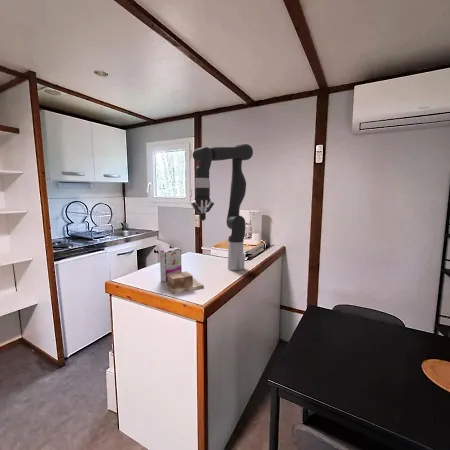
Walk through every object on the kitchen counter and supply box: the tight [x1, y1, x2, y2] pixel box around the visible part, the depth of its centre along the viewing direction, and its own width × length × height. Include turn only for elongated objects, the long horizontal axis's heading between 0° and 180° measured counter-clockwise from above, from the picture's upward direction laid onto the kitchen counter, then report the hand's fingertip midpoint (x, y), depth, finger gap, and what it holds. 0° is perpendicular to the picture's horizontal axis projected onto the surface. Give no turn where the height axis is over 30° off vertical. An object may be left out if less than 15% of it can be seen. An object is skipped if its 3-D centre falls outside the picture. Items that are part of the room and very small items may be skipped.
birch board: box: [164, 277, 205, 294], centre depth 127 cm, size 16×12×1 cm
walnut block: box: [167, 271, 194, 289], centre depth 126 cm, size 5×8×10 cm
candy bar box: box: [159, 246, 183, 283], centre depth 137 cm, size 11×5×16 cm, turn 143°
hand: (202, 220), depth 135 cm, fingers closed
